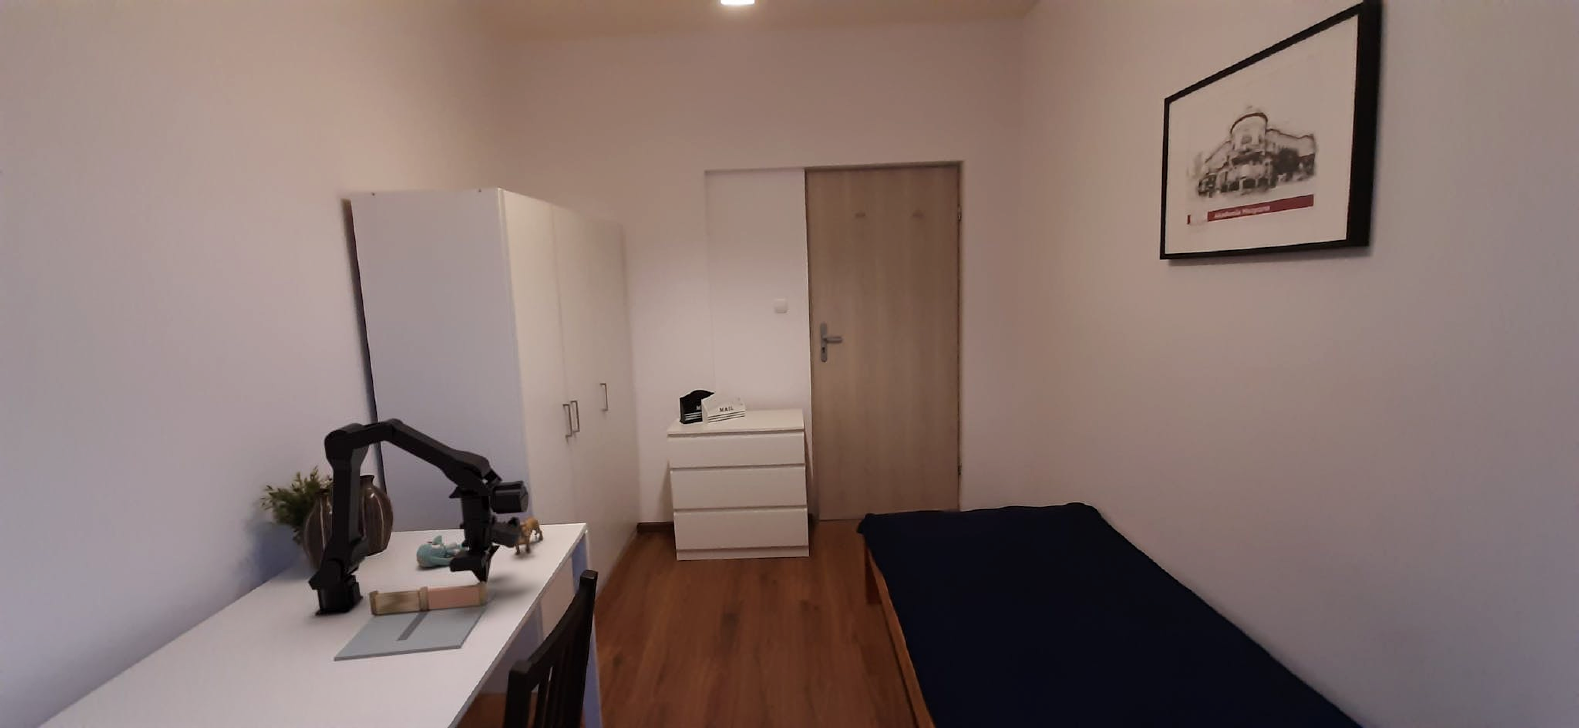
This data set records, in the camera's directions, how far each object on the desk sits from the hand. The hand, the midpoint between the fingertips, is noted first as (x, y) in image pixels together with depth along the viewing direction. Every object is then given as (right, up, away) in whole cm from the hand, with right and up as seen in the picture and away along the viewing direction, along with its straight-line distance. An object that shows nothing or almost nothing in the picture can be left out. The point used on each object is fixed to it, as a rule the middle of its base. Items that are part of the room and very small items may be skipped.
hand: (484, 582), depth 139 cm
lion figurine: (0, 0, +24) cm, 24 cm away
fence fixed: (-15, -3, -7) cm, 17 cm away
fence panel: (-3, -3, -6) cm, 7 cm away
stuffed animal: (-19, -1, +18) cm, 26 cm away
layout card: (-7, -5, -11) cm, 14 cm away
